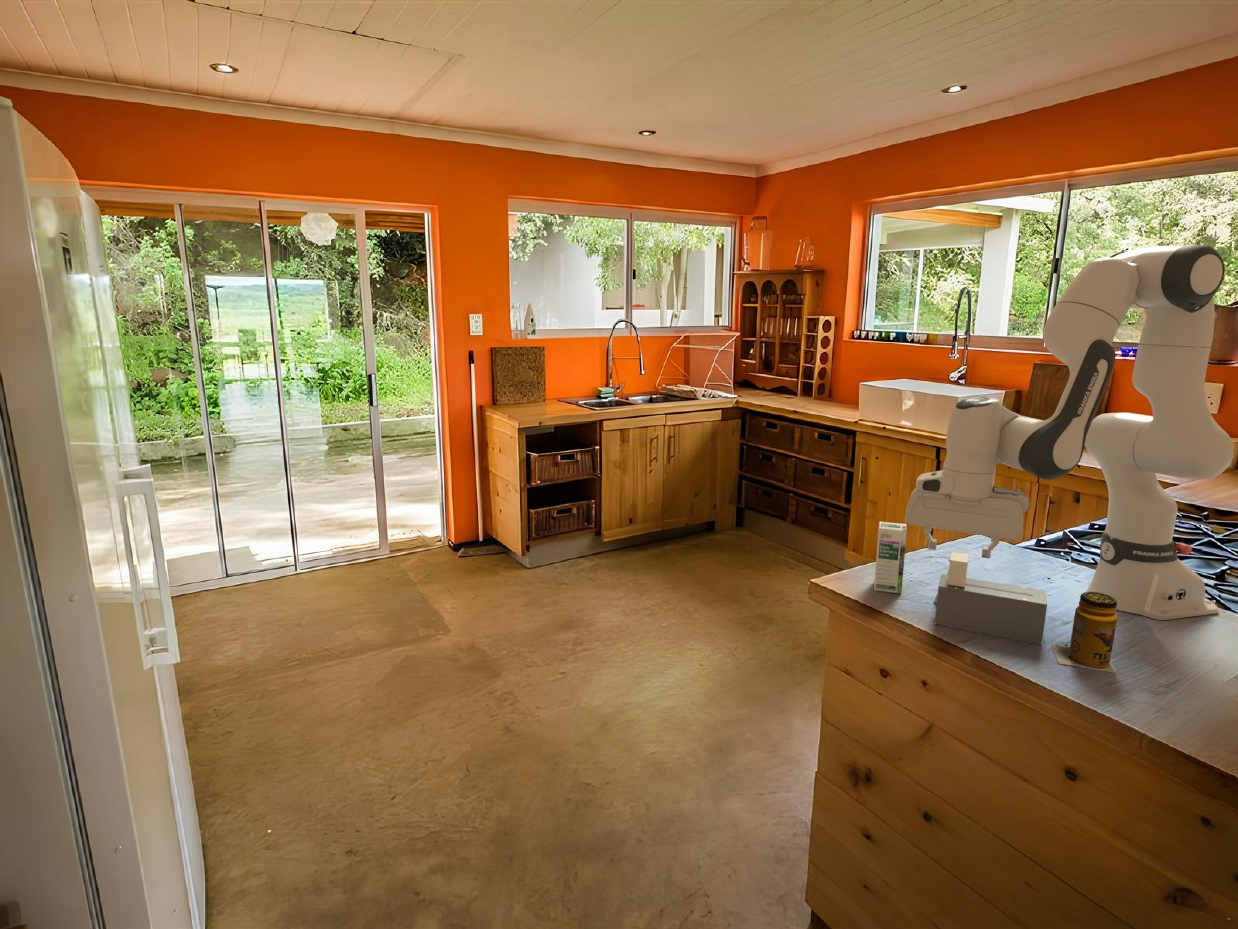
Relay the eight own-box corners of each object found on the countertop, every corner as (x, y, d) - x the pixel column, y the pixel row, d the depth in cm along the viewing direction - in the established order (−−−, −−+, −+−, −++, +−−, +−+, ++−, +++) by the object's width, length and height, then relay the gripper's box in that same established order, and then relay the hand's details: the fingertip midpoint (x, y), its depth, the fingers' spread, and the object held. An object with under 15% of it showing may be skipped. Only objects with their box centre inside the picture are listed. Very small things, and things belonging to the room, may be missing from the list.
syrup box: (873, 590, 151) (878, 527, 148) (874, 581, 156) (879, 519, 153) (901, 594, 149) (907, 530, 146) (901, 584, 154) (907, 522, 151)
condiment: (1117, 673, 117) (1128, 608, 114) (1059, 664, 120) (1068, 600, 117) (1105, 653, 124) (1115, 591, 121) (1050, 645, 127) (1059, 584, 124)
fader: (947, 584, 133) (950, 560, 132) (949, 575, 138) (951, 551, 137) (964, 587, 132) (967, 562, 131) (966, 578, 136) (968, 554, 135)
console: (934, 624, 135) (938, 585, 133) (937, 610, 141) (941, 573, 139) (1041, 645, 127) (1047, 604, 125) (1039, 629, 133) (1045, 590, 131)
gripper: (1030, 487, 128) (1019, 557, 131) (911, 473, 138) (904, 539, 141) (1031, 494, 123) (1020, 568, 126) (907, 480, 132) (900, 548, 135)
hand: (958, 552), depth 133 cm, fingers open, 8 cm apart
